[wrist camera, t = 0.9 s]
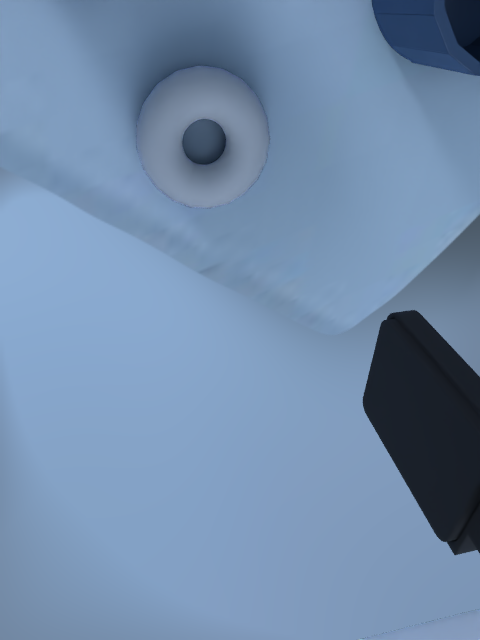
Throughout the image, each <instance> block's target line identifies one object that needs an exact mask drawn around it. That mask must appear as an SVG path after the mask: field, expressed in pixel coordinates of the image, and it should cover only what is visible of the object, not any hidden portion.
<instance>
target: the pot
mask: <svg viewBox="0 0 480 640" xmlns="http://www.w3.org/2000/svg"><path fill="white" fill-rule="evenodd" d="M372 5H373V10H374V14H375V18H376V20H377V23H378V26H379V28H380V30H381V32H382V34H383V36H384V38H385V39H386V41H387V42H388V43H389V44H390V46H391V47H392V48H393V49H394V50H395V51H396V52H398V53H399V54H400V55H402V56H403V57H405V58H406V59H409V60H410V61H411V62H413V63H417V64H422V65H426V66H431V67H436V68H441V69H446V70H451V71H456V72H461V73H466V74H471V75H477V76H480V0H372Z"/></svg>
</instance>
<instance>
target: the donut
mask: <svg viewBox="0 0 480 640" xmlns="http://www.w3.org/2000/svg"><path fill="white" fill-rule="evenodd" d="M201 119H210V120H213V121H215V122H217V123H218V124H219V125H220V126H221V127H222V129H223V131H224V133H225V136H226V147H225V149H224V152H223V154H222V155H221V156H220V157H219V158H218V159H217V160H216V161H214V162H213V163H210V164H206V165H204V164H197V163H194V162H192V161H191V160H190V159H189V158H188V157H187V156H186V154H185V152H184V150H183V146H182V139H183V135H184V132H185V130H186V129H187V128H188V127H189V125H191V124H192V123H194V122H195V121H197V120H201ZM136 142H137V151H138V154H139V157H140V161H141V164H142V167H143V170H144V171H145V173H146V174H147V175H148V177H149V178H150V180H151V181H152V183H153V184H154V185H155V187H156V188H157V189H158V190H159V191H161V192H162V193H163V194H165V195H166V196H167V197H168V198H170V199H171V200H172V201H175V202H177V203H180V204H183V205H185V206H188V207H191V208H214V207H217V206H221V205H225V204H229V203H230V202H232V201H233V200H235V199H237V198H238V197H240V196H242V195H243V194H245V193H246V192H247V190H248V189H249V188H250V187H251V186H252V185H253V184H254V183H255V182H256V180H257V179H258V178H259V176H260V173H261V171H262V169H263V167H264V165H265V163H266V161H267V156H268V149H269V143H270V135H269V127H268V119H267V116H266V114H265V111H264V109H263V107H262V105H261V103H260V100H259V98H258V96H257V95H256V94H255V93H254V91H253V90H252V89H251V88H250V87H249V86H248V85H247V84H246V83H245V82H244V81H243V80H242V79H241V78H239V77H237V76H236V75H234V74H232V73H230V72H228V71H226V70H224V69H222V68H216V67H209V66H201V65H198V66H194V67H190V68H186V69H181V70H177V71H175V72H174V73H172V74H171V75H169V76H168V77H167V78H165V79H164V80H162V81H161V82H159V83H158V84H157V85H156V86H155V88H154V89H153V90H152V92H151V93H150V94H149V96H148V97H147V99H146V100H145V101H144V103H143V106H142V109H141V112H140V115H139V118H138V122H137V125H136Z"/></svg>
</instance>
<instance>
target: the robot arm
mask: <svg viewBox="0 0 480 640" xmlns="http://www.w3.org/2000/svg"><path fill="white" fill-rule="evenodd" d="M363 407H364V410H365V413H366V414H367V416H368V418H369V420H370V422H371V423H372V425H373V427H374V428H375V430H376V432H377V434H378V435H379V437H380V439H381V441H382V442H383V444H384V446H385V448H386V449H387V451H388V453H389V454H390V456H391V458H392V460H393V461H394V463H395V465H396V467H397V468H398V470H399V472H400V473H401V475H402V477H403V479H404V480H405V482H406V484H407V486H408V487H409V489H410V491H411V492H412V494H413V496H414V497H415V499H416V501H417V503H418V504H419V506H420V508H421V510H422V511H423V513H424V515H425V517H426V518H427V520H428V522H429V523H430V525H431V527H432V529H433V530H434V532H435V534H436V535H437V537H438V538H439V539H440V540H441V541H443V542H447V543H448V545H449V546H450V548H451V550H452V552H453V553H454V555H458V554H462V553H466V552H470V551H474V550H478V551H479V553H480V377H479V376H478V375H477V374H476V373H475V372H474V371H473V369H472V368H471V367H470V366H469V365H468V364H467V363H466V362H465V361H464V360H463V359H462V358H461V357H460V356H459V355H458V354H457V352H456V351H455V350H454V349H453V348H452V347H451V346H450V345H449V344H448V343H447V342H446V341H445V340H444V339H443V337H441V335H440V334H439V333H438V332H437V331H436V330H435V329H434V328H433V327H432V326H431V325H430V324H429V323H428V322H427V320H425V319H424V317H423V316H422V315H421V314H420V313H419V312H417V311H415V310H411V311H403V312H396V313H392V314H390V315H389V316H388V317H387V320H384V321H383V322H382V323H381V326H380V330H379V335H378V338H377V343H376V347H375V351H374V355H373V359H372V363H371V367H370V371H369V375H368V380H367V384H366V388H365V392H364V396H363ZM359 640H480V609H477V610H473V611H469V612H465V613H460V614H457V615H453V616H449V617H445V618H441V619H437V620H433V621H429V622H425V623H421V624H418V625H414V626H410V627H406V628H402V629H398V630H394V631H391V632H386V633H382V634H379V635H375V636H371V637H367V638H363V639H359Z"/></svg>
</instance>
